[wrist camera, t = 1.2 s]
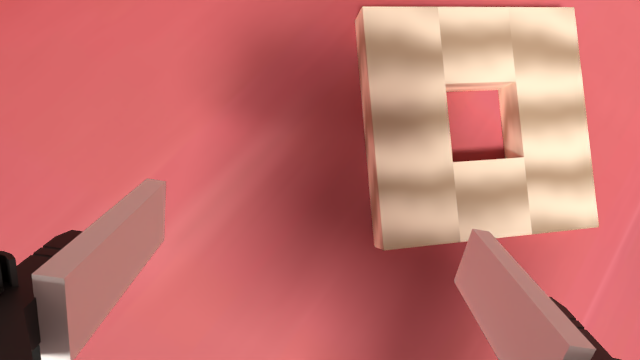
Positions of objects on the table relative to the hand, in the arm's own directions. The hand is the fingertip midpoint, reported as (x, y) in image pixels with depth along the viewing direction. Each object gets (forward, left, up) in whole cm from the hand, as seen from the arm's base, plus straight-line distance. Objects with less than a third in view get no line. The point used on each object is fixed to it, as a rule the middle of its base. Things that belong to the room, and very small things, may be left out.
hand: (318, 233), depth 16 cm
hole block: (+8, -21, -22) cm, 31 cm away
